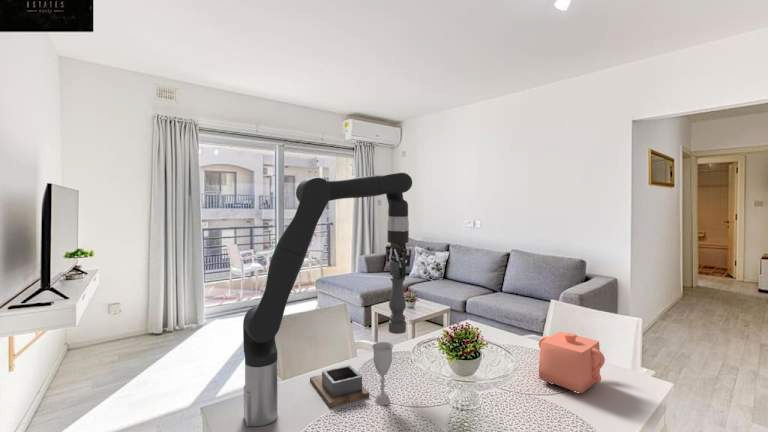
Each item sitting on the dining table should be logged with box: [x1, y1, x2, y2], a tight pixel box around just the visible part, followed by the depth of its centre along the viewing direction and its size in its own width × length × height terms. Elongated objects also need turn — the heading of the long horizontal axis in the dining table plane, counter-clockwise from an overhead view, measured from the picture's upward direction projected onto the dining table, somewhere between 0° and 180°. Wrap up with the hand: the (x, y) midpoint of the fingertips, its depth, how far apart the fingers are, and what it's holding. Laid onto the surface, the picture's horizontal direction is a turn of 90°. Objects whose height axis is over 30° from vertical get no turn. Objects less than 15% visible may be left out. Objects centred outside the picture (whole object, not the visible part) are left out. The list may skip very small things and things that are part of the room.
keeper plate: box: [309, 374, 370, 408], centre depth 131 cm, size 14×20×2 cm
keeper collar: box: [321, 364, 363, 399], centre depth 128 cm, size 10×10×5 cm
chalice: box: [371, 341, 394, 406], centre depth 123 cm, size 7×7×18 cm
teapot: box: [538, 331, 606, 394], centre depth 139 cm, size 25×23×18 cm
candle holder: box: [388, 260, 407, 335], centre depth 135 cm, size 6×6×25 cm
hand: (397, 276), depth 134 cm, fingers closed on candle holder, 5 cm apart
